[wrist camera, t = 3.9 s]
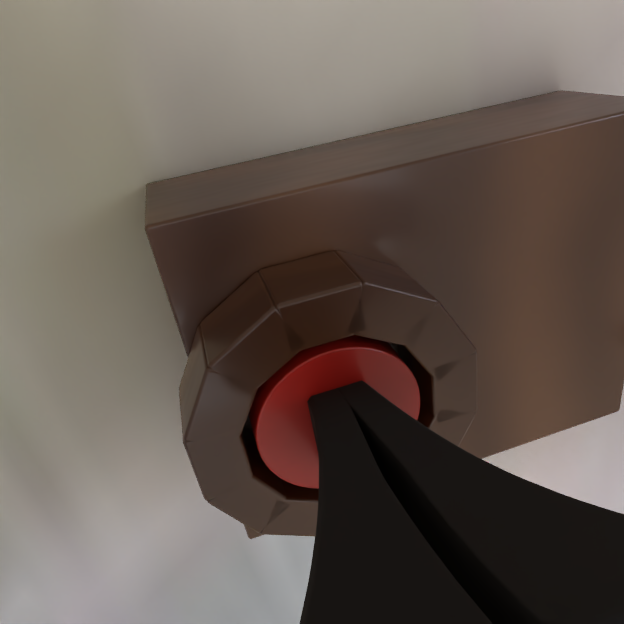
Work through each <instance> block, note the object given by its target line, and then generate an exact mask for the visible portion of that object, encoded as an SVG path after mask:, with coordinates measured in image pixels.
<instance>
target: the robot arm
mask: <svg viewBox="0 0 624 624" xmlns="http://www.w3.org/2000/svg"><path fill="white" fill-rule="evenodd" d="M307 403H308V408H309V412H310V417H311V422H312V427H313V431H314V436H315V441H316V446H317V450H318V457H319V498H318V514H317V525H316V535H315V543H314V550H313V558H312V565H311V571H310V577H309V582H308V587H307V592H306V597H305V601H304V606H303V611H302V615H301V620H300V624H624V514H621V513H617V512H614V511H611V510H608V509H604V508H601V507H598V506H595V505H592V504H589V503H586V502H583V501H579V500H577V499H574V498H571V497H568V496H565V495H563V494H560V493H557V492H555V491H552V490H550V489H547V488H545V487H542V486H540V485H537V484H535V483H532V482H529V481H527V480H524V479H522V478H520V477H518V476H515V475H513V474H511V473H508V472H506V471H504V470H502V469H500V468H498V467H496V466H494V465H492V464H490V463H488V462H486V461H484V460H482V459H480V458H478V457H476V456H474V455H472V454H471V453H469V452H467V451H465V450H463V449H462V448H460V447H458V446H457V445H455V444H453V443H451V442H450V441H448V440H446V439H445V438H443V437H442V436H440V435H438V434H437V433H435V432H434V431H432V430H430V429H429V428H427V427H426V426H424V425H423V424H421V423H420V422H418V421H417V420H415V419H414V418H412V417H411V416H410V415H408V414H407V413H405V412H404V411H402V410H401V409H400V408H398V407H397V406H396V405H394V404H393V403H392V402H390V401H389V400H388V399H386V398H385V397H384V396H382V395H381V394H380V393H378V392H377V391H376V390H375V389H373V388H372V387H371V386H369V385H368V384H367V383H365V382H364V381H362V380H361V381H358V382H355V383H352V384H348V385H345V386H342V387H339V388H336V389H332V390H329V391H326V392H323V393H319V394H316V395H313V396H311V397H310V398H309V400H308V401H307Z"/></svg>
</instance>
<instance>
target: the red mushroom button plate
mask: <svg viewBox="0 0 624 624" xmlns="http://www.w3.org/2000/svg"><path fill="white" fill-rule="evenodd" d="M145 231H146V234H147V237H148V240H149V243H150V246H151V249H152V252H153V255H154V258H155V261H156V264H157V267H158V270H159V273H160V276H161V279H162V281H163V284H164V287H165V290H166V293H167V296H168V299H169V302H170V305H171V308H172V311H173V314H174V317H175V320H176V323H177V326H178V329H179V332H180V335H181V338H182V341H183V344H184V347H185V350H186V353H187V356H188V360H187V364H186V367H185V370H184V374H183V377H182V380H181V383H180V387H179V398H180V409H181V421H182V433H183V443H184V446H185V449H186V451H187V454H188V457H189V459H190V462H191V465H192V467H193V470H194V473H195V475H196V478H197V481H198V483H199V486H200V488H201V491H202V494H203V496H204V498H205V500H207V501H208V503H210V504H211V505H213V506H215V507H216V508H218V509H220V510H221V511H223V512H225V513H226V514H228V515H230V516H231V517H233V518H234V519H236V520H238V521H239V522H241V523H243V524H244V526H245V529H246V532H247V535H248V537H249V538H250V539H252V538H255V537H258V536H261V535H264V534H269V535H295V536H315V535H316V525H317V514H318V498H319V488H306V487H301V486H297V485H294V484H291V483H289V482H286V481H284V480H283V479H281V478H279V477H278V476H277V475H275V474H274V473H273V472H272V471H271V470H270V469H269V468H268V467H267V466H266V465H265V463H264V462H263V460H262V458H261V457H260V454H259V451H258V449H257V445H256V441H255V438H254V434H253V430H252V427H251V423H250V419H249V416H248V414H249V411H250V408H251V406H252V403H253V400H254V397H255V395H256V392H257V389H258V388H259V387H260V386H261V385H262V384H263V383H265V382H266V381H267V380H268V379H269V378H270V377H271V376H273V375H274V374H275V373H276V372H277V371H278V370H279V369H280V368H282V367H283V366H284V365H285V364H286V363H287V362H288V361H290V360H291V359H292V358H293V357H294V356H295V355H296V354H297V353H299V352H300V351H302V350H305V349H308V348H312V347H315V346H319V345H322V344H326V343H329V342H332V341H336V340H339V339H343V338H346V337H349V336H353V335H357V336H362V337H367V338H371V339H376V340H381V341H386V342H388V343H389V344H390V345H391V347H392V348H393V349H394V350H395V352H396V353H397V354H398V355H399V357H400V358H401V359H402V360H403V361H404V363H405V364H406V365H407V366H408V368H409V369H410V370H411V371H412V373H413V375H414V377H415V379H416V381H417V384H418V387H419V392H420V411H419V416H418V420H417V421H418V422H420V423H421V424H423V425H424V426H426V427H427V428H429V429H430V430H432V431H434V432H435V433H437V434H438V435H440V436H442V437H443V438H445V439H446V440H448V441H450V442H451V443H453V444H455V445H457V446H458V447H460V448H462V449H463V450H465V451H467V452H469V453H471V454H472V455H474V456H476V457H478V458H480V459H482V458H485V457H488V456H491V455H494V454H496V453H499V452H502V451H505V450H508V449H511V448H514V447H517V446H519V445H522V444H525V443H528V442H531V441H534V440H537V439H540V438H542V437H545V436H548V435H551V434H554V433H557V432H560V431H562V430H565V429H568V428H571V427H574V426H577V425H580V424H583V423H585V422H588V421H591V420H594V419H597V418H600V417H603V416H606V415H608V414H611V413H614V412H617V411H619V408H620V402H621V396H622V390H623V384H624V96H614V95H603V94H593V93H582V92H572V91H556V92H552V93H547V94H543V95H539V96H534V97H530V98H525V99H521V100H516V101H512V102H508V103H503V104H499V105H494V106H490V107H485V108H481V109H477V110H472V111H468V112H463V113H459V114H455V115H450V116H446V117H441V118H437V119H432V120H428V121H424V122H419V123H415V124H410V125H406V126H401V127H397V128H393V129H388V130H384V131H379V132H375V133H370V134H366V135H362V136H357V137H353V138H348V139H344V140H339V141H335V142H331V143H326V144H322V145H317V146H313V147H308V148H304V149H300V150H295V151H291V152H286V153H282V154H278V155H273V156H269V157H264V158H260V159H255V160H251V161H247V162H242V163H238V164H233V165H229V166H224V167H220V168H216V169H211V170H207V171H202V172H198V173H193V174H189V175H185V176H180V177H176V178H171V179H167V180H162V181H158V182H154V183H149V184H147V185H146V210H145Z"/></svg>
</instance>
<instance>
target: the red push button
mask: <svg viewBox="0 0 624 624" xmlns="http://www.w3.org/2000/svg"><path fill="white" fill-rule="evenodd" d="M361 380H362V381H364V382H365V383H367V384H368V385H369V386H371V387H372V388H373V389H375V390H376V391H377V392H378V393H380V394H381V395H382V396H384V397H385V398H386V399H388V400H389V401H390V402H392V403H393V404H394V405H396V406H397V407H398V408H400V409H401V410H402V411H404V412H405V413H407V414H408V415H410V416H411V417H412V418H414V419H415V420H418V416H419V411H420V392H419V387H418V384H417V381H416V379H415V377H414V375H413V373H412V371H411V370H410V369H409V368H408V366H407V365H406V364H405V363H404V361H403V360H402V359H401V358H400V357H399V355H398V354H397V353H396V352H395V350H394V349H393V348H392V347H391V345H390V344H389V343H388V342H386V341H381V340H376V339H371V338H367V337H362V336H357V335H353V336H349V337H346V338H343V339H339V340H336V341H332V342H329V343H326V344H322V345H319V346H315V347H312V348H308V349H305V350H302V351H300V352H299V353H297V354H296V355H295V356H294V357H293V358H292V359H291V360H290V361H288V362H287V363H286V364H285V365H284V366H283V367H282V368H280V369H279V370H278V371H277V372H276V373H275V374H274V375H273V376H271V377H270V378H269V379H268V380H267V381H266V382H265V383H263V384H262V385H261V386H260V387H259V388H258V389H257V392H256V395H255V397H254V400H253V403H252V406H251V408H250V411H249V414H248V416H249V419H250V423H251V427H252V430H253V434H254V438H255V441H256V445H257V449H258V451H259V454H260V457H261V458H262V460H263V462H264V463H265V465H266V466H267V467H268V468H269V469H270V470H271V471H272V472H273V473H274V474H275V475H277V476H278V477H279V478H281V479H283V480H284V481H286V482H289V483H291V484H294V485H297V486H301V487H306V488H319V457H318V450H317V446H316V441H315V436H314V431H313V427H312V422H311V417H310V412H309V408H308V403H307V401H308V400H309V398H310V397H311V396H313V395H316V394H319V393H323V392H326V391H329V390H332V389H336V388H339V387H342V386H345V385H348V384H352V383H355V382H358V381H361Z"/></svg>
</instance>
